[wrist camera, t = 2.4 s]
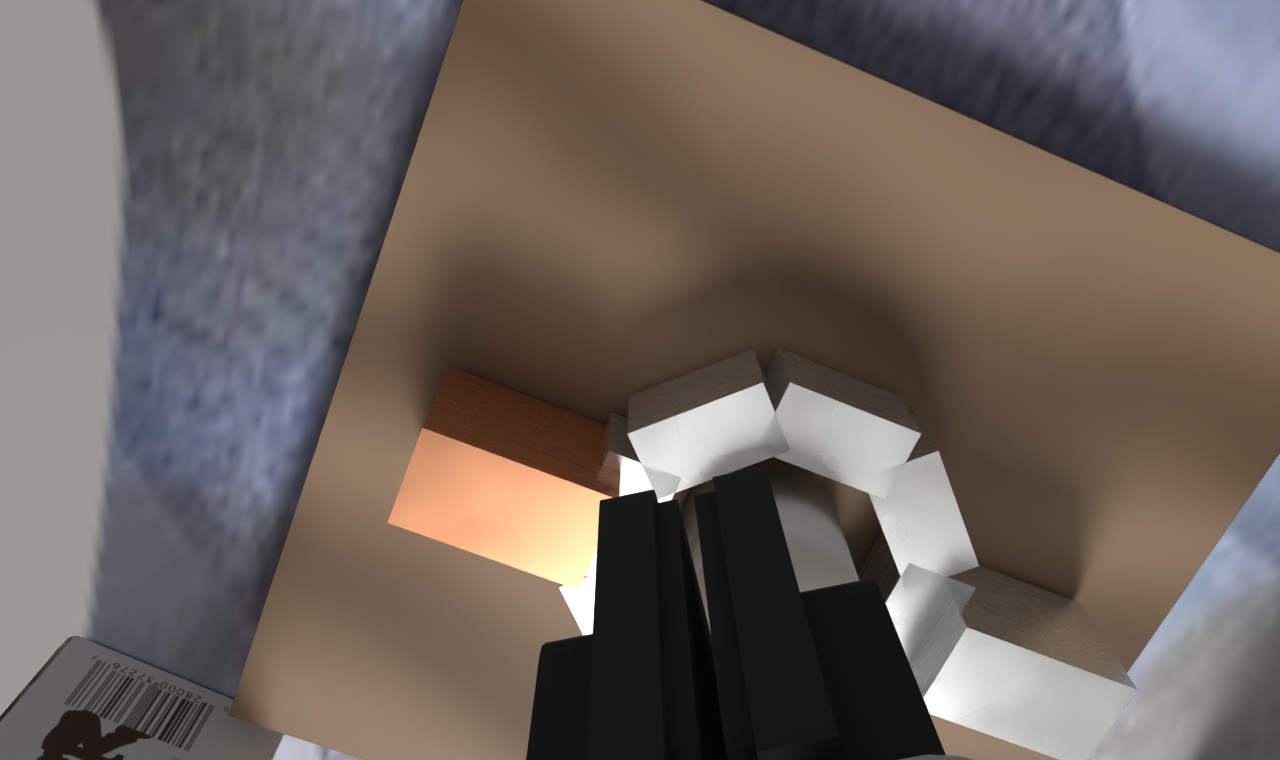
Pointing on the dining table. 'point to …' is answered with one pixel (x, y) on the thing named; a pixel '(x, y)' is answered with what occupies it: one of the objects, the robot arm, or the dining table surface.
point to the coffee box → (123, 714)
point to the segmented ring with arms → (736, 438)
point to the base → (756, 348)
